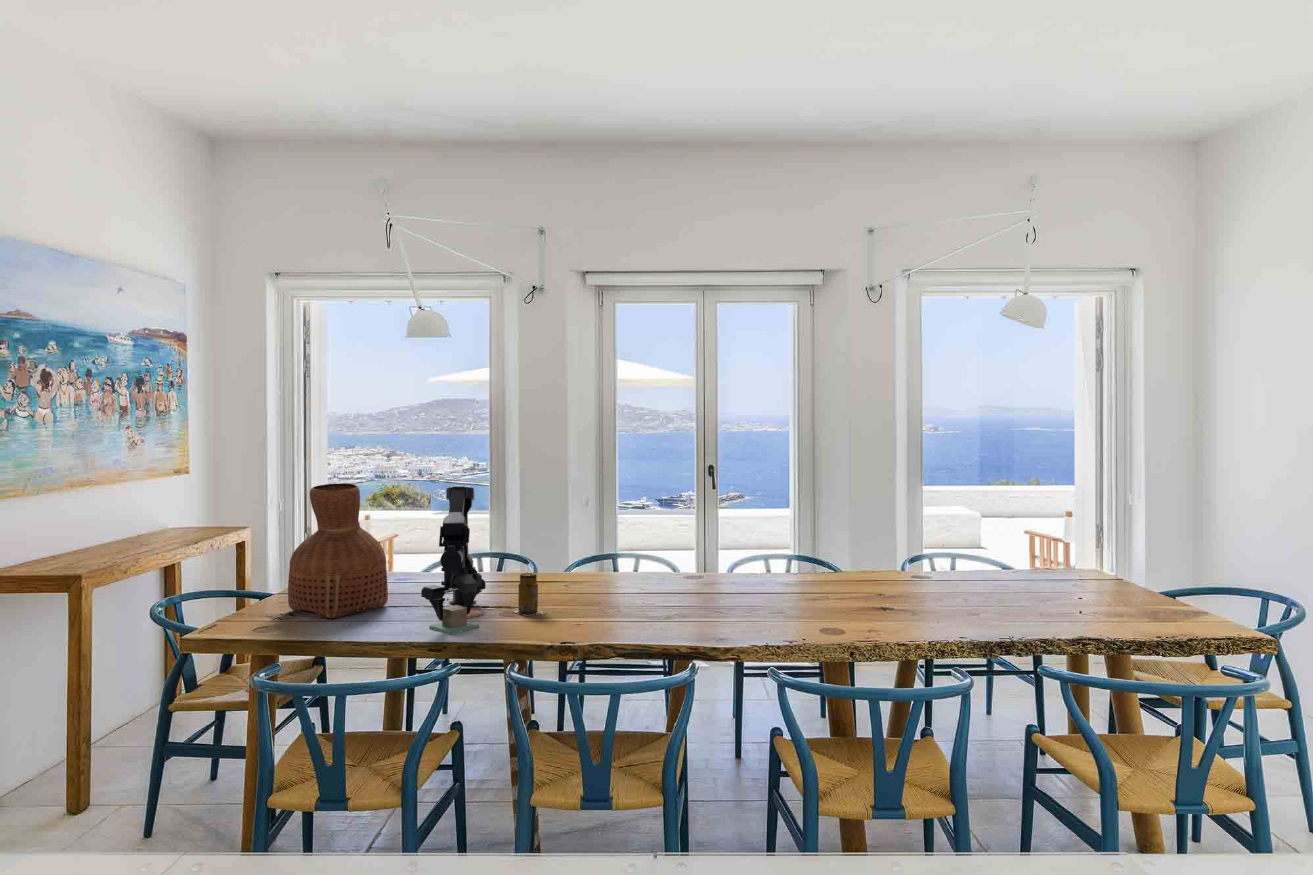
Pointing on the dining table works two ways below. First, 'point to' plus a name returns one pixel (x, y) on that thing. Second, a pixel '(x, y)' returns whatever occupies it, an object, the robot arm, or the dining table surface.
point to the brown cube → (454, 616)
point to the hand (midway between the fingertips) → (454, 617)
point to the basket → (337, 559)
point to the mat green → (453, 630)
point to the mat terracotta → (473, 613)
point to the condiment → (528, 595)
